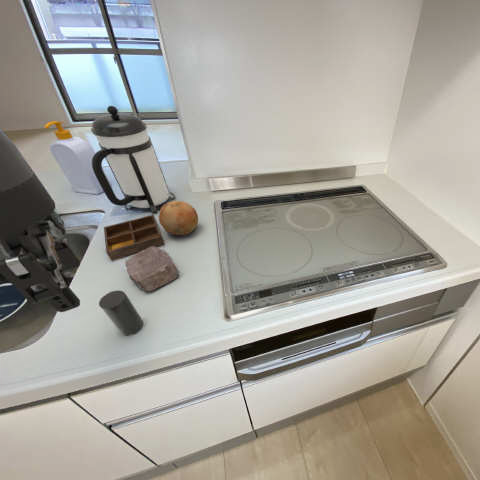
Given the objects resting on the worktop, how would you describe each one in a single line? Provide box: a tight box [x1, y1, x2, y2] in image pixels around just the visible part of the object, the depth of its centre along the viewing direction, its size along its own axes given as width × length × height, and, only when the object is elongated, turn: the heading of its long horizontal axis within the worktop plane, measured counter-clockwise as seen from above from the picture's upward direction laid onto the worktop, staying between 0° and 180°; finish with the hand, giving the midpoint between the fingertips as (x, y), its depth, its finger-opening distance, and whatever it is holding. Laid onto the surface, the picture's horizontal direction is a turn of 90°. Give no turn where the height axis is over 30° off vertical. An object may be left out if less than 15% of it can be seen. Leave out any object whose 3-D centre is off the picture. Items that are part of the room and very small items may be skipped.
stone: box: [124, 246, 179, 292], centre depth 62 cm, size 12×9×5 cm
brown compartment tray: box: [103, 214, 166, 262], centre depth 72 cm, size 12×12×3 cm
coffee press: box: [90, 105, 176, 215], centre depth 77 cm, size 17×16×30 cm
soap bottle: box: [43, 120, 112, 196], centre depth 85 cm, size 9×7×23 cm
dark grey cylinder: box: [98, 289, 145, 337], centre depth 49 cm, size 4×4×9 cm
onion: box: [158, 200, 199, 236], centre depth 73 cm, size 10×10×10 cm
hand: (71, 286), depth 36 cm, fingers open, 8 cm apart
